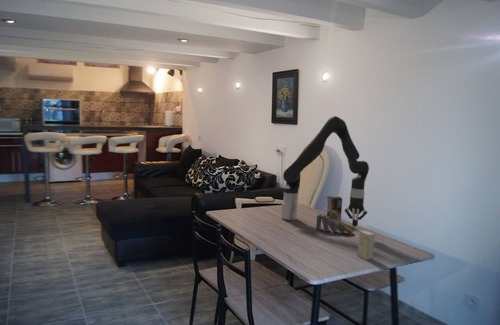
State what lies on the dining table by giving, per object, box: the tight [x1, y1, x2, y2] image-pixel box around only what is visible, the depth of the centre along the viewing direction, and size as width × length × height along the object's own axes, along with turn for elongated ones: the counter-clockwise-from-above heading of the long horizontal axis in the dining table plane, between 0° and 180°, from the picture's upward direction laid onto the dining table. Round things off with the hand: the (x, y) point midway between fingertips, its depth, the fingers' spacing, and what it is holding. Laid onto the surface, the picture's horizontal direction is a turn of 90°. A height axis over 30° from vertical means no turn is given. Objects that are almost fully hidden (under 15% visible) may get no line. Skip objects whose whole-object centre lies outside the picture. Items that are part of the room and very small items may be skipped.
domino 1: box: [315, 213, 323, 232], centre depth 226 cm, size 2×5×9 cm, turn 159°
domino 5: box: [338, 220, 354, 236], centre depth 221 cm, size 2×5×9 cm
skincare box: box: [357, 230, 376, 261], centre depth 182 cm, size 6×4×12 cm
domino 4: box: [331, 219, 346, 235], centre depth 223 cm, size 2×5×9 cm
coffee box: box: [325, 195, 343, 223], centre depth 246 cm, size 9×6×16 cm
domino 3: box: [325, 216, 338, 233], centre depth 224 cm, size 2×5×9 cm
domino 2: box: [321, 213, 330, 233], centre depth 225 cm, size 2×5×9 cm, turn 160°
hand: (354, 226), depth 219 cm, fingers closed
